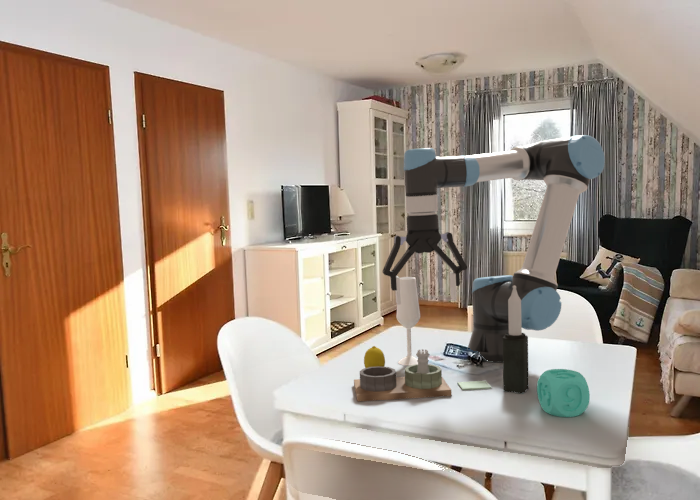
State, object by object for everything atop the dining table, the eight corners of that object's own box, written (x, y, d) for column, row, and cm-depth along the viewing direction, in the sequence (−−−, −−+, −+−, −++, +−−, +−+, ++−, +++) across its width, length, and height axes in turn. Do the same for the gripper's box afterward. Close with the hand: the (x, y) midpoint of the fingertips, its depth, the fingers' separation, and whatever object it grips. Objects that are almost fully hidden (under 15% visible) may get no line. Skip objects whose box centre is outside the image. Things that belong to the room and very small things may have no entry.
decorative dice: (571, 402, 131) (571, 367, 130) (590, 415, 123) (590, 378, 123) (536, 405, 130) (536, 370, 130) (553, 419, 122) (553, 381, 122)
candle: (523, 394, 138) (522, 287, 136) (502, 391, 141) (500, 286, 138) (529, 387, 142) (528, 284, 140) (508, 384, 145) (506, 283, 143)
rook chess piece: (433, 380, 146) (433, 348, 145) (431, 386, 141) (430, 353, 141) (415, 379, 147) (415, 347, 146) (412, 385, 143) (412, 352, 142)
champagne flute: (405, 366, 164) (402, 280, 162) (393, 361, 170) (390, 277, 168) (426, 363, 166) (423, 278, 164) (413, 357, 172) (411, 275, 170)
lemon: (383, 379, 153) (382, 348, 153) (362, 378, 154) (361, 348, 154) (386, 373, 159) (385, 343, 158) (366, 372, 160) (365, 343, 159)
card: (485, 382, 148) (485, 380, 147) (491, 388, 143) (491, 387, 143) (457, 383, 147) (457, 382, 147) (462, 390, 142) (462, 388, 142)
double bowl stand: (440, 380, 150) (440, 361, 150) (451, 396, 138) (451, 375, 138) (354, 385, 149) (353, 365, 149) (357, 401, 137) (356, 380, 137)
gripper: (469, 210, 146) (472, 295, 149) (368, 216, 145) (373, 302, 147) (477, 211, 139) (481, 300, 141) (372, 217, 137) (376, 308, 139)
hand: (426, 301), depth 144 cm, fingers open, 13 cm apart
